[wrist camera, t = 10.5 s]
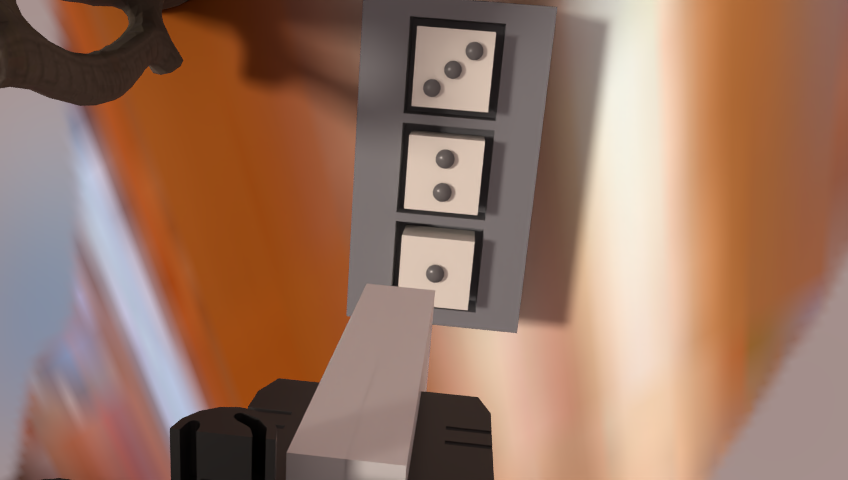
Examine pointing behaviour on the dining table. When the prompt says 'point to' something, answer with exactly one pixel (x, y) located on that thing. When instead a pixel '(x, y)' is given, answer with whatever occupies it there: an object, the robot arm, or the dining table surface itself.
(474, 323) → the grey dice tray
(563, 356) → the dining table surface
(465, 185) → the cream square block
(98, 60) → the beer stein
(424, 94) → the tile
